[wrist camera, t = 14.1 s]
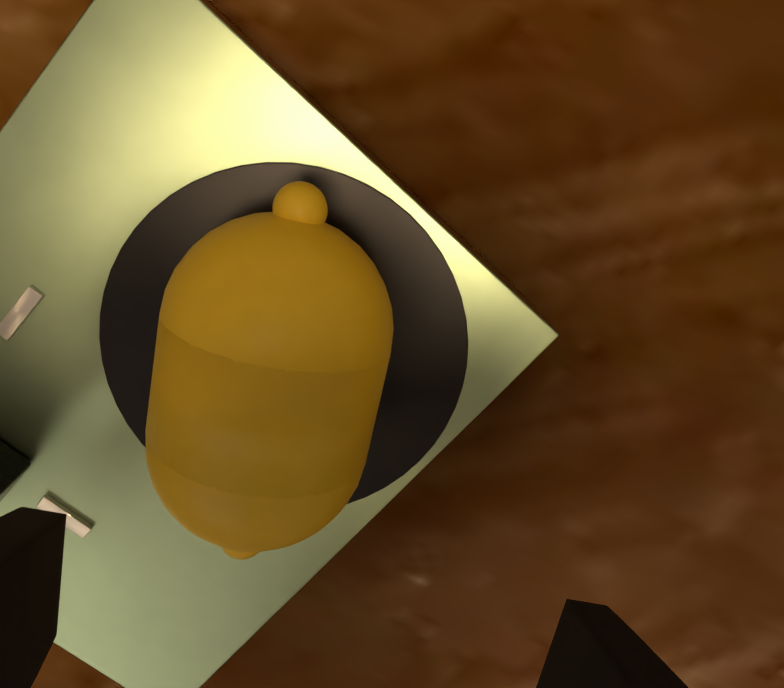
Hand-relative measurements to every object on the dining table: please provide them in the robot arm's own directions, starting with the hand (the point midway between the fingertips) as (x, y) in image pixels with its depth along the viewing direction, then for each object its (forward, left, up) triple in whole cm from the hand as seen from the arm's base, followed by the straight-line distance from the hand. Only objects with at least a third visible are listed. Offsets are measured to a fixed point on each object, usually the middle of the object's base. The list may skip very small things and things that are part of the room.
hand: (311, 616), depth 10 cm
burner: (+1, +2, -7) cm, 7 cm away
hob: (-3, +4, -9) cm, 11 cm away
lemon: (+1, +2, -7) cm, 7 cm away
